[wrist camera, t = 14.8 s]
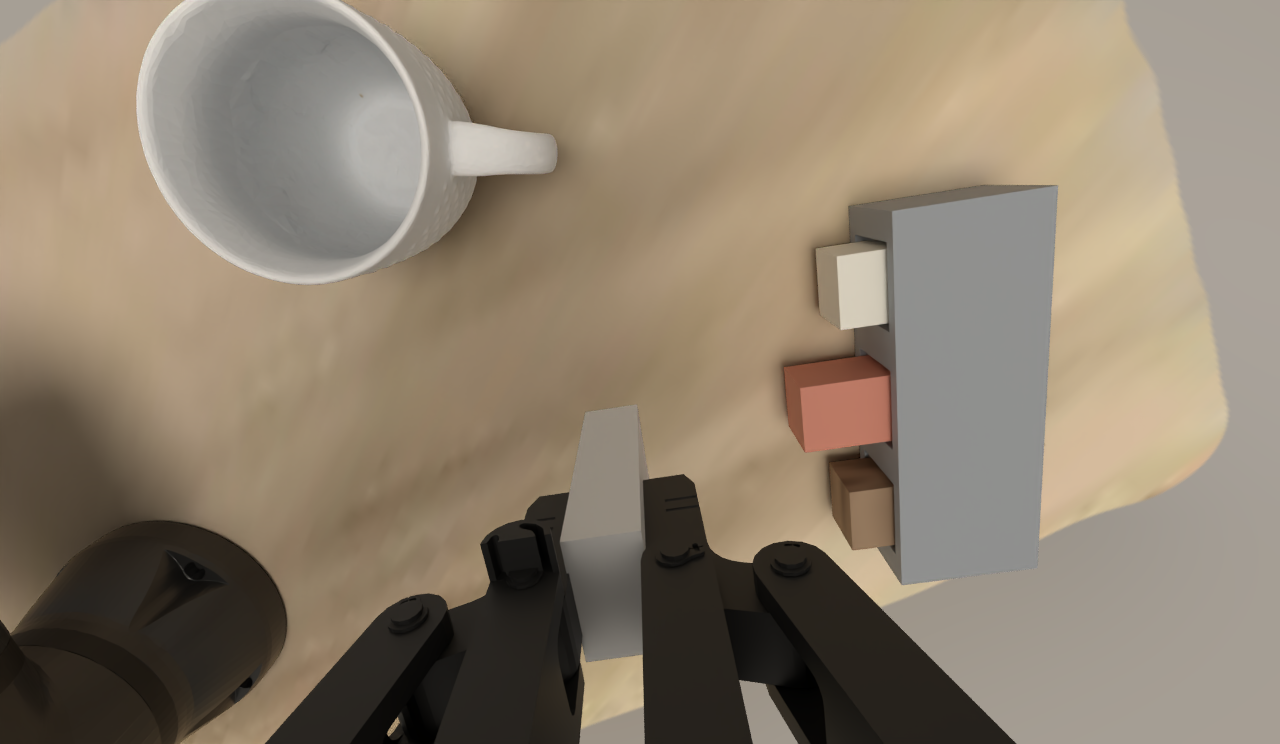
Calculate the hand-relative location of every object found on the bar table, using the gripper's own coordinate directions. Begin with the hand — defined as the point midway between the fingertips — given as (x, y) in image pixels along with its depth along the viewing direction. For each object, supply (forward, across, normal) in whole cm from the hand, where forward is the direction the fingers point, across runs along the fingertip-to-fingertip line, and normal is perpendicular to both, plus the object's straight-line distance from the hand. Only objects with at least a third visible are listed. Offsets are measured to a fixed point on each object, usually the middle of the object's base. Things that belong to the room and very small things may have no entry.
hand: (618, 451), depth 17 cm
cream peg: (+20, +16, 0) cm, 25 cm away
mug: (+22, -10, +11) cm, 26 cm away
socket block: (+21, +18, -7) cm, 29 cm away
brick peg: (+20, +14, -7) cm, 25 cm away
